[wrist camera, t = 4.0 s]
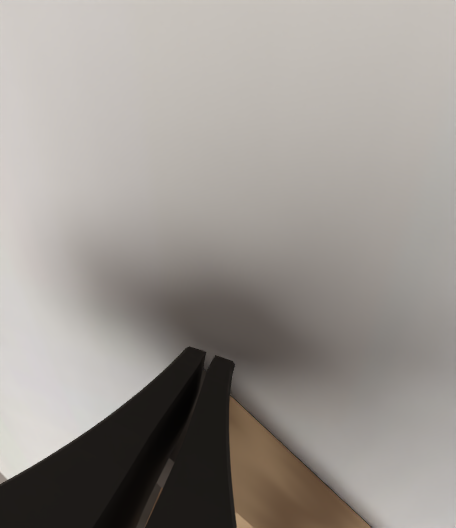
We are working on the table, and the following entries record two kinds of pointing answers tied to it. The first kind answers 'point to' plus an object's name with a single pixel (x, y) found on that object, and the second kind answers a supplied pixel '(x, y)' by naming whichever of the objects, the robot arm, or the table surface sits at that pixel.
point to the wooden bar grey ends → (272, 480)
